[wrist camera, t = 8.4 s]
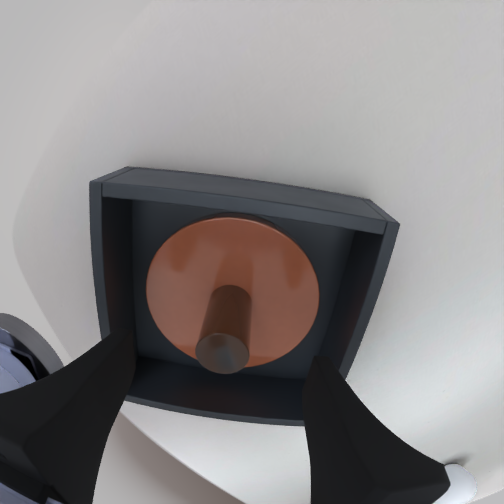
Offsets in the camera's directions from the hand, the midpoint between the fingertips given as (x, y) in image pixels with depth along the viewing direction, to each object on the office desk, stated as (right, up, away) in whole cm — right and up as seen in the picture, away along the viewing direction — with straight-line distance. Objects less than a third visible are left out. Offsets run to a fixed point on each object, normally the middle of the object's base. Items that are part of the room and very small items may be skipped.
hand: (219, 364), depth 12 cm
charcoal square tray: (0, +2, +5) cm, 6 cm away
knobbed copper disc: (0, +2, +5) cm, 5 cm away
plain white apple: (+25, -23, +15) cm, 36 cm away
